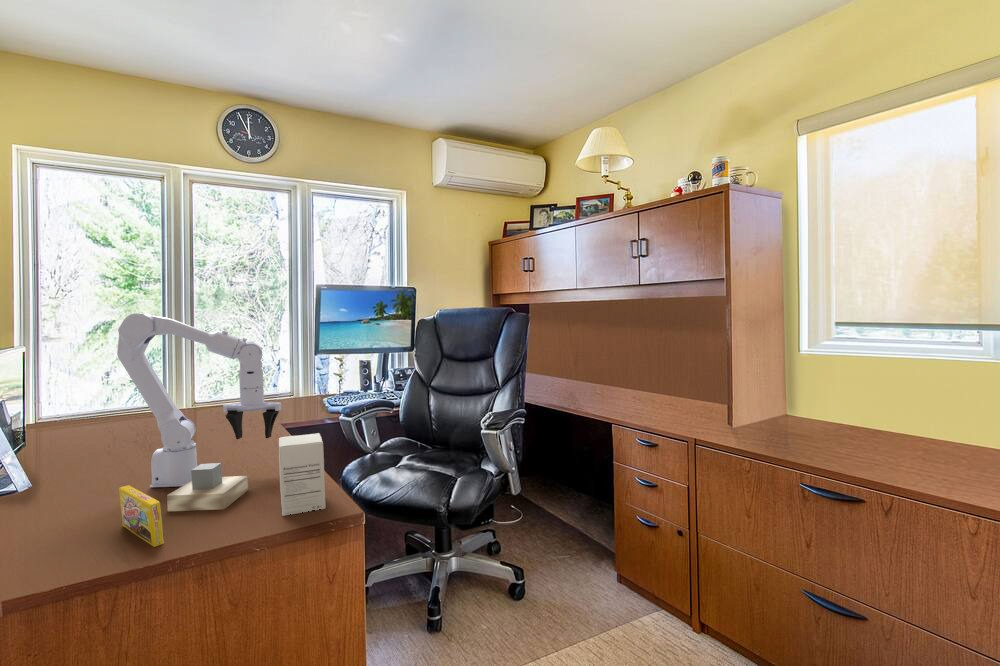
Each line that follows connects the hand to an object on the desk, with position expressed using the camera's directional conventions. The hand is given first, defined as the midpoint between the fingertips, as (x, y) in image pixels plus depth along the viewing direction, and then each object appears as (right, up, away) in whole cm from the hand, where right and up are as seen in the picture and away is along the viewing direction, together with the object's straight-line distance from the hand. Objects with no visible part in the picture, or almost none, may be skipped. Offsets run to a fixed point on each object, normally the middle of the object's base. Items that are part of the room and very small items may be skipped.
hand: (253, 437), depth 138 cm
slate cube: (-1, -7, -20) cm, 21 cm away
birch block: (-1, -11, -20) cm, 22 cm away
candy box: (-4, -12, -38) cm, 40 cm away
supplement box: (+23, -10, -24) cm, 35 cm away
